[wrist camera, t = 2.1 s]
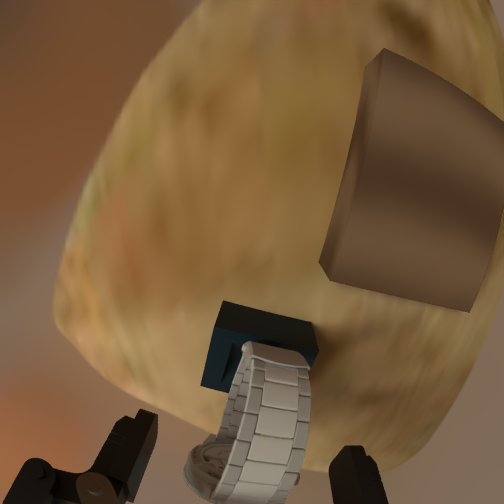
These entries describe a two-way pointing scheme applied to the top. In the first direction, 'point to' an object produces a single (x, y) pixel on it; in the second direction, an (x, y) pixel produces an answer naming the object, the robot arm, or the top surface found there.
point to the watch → (255, 407)
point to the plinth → (417, 189)
